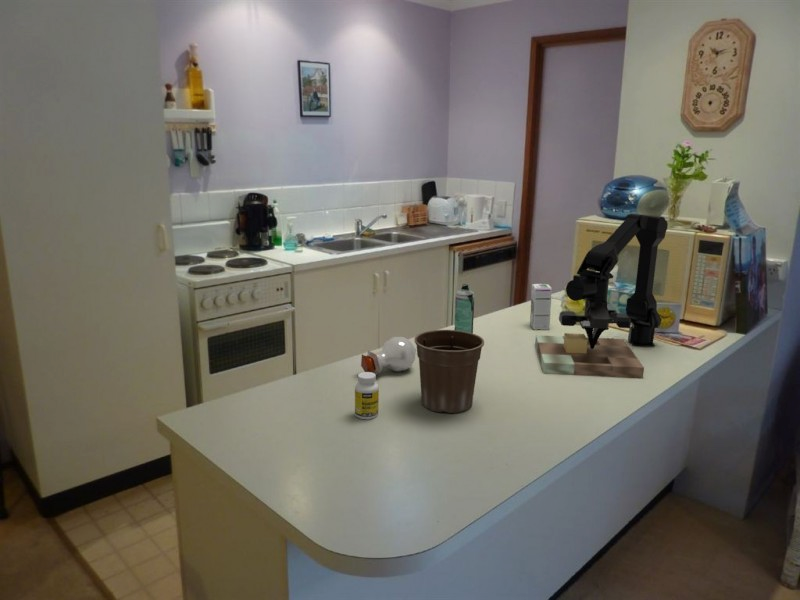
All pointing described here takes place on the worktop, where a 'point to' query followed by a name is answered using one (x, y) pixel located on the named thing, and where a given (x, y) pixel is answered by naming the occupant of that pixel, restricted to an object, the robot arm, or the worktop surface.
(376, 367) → the potion bottle
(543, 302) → the syrup box
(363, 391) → the supplement bottle
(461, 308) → the spray can
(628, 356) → the trap board
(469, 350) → the plant pot
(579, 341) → the ochre block
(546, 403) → the worktop surface
